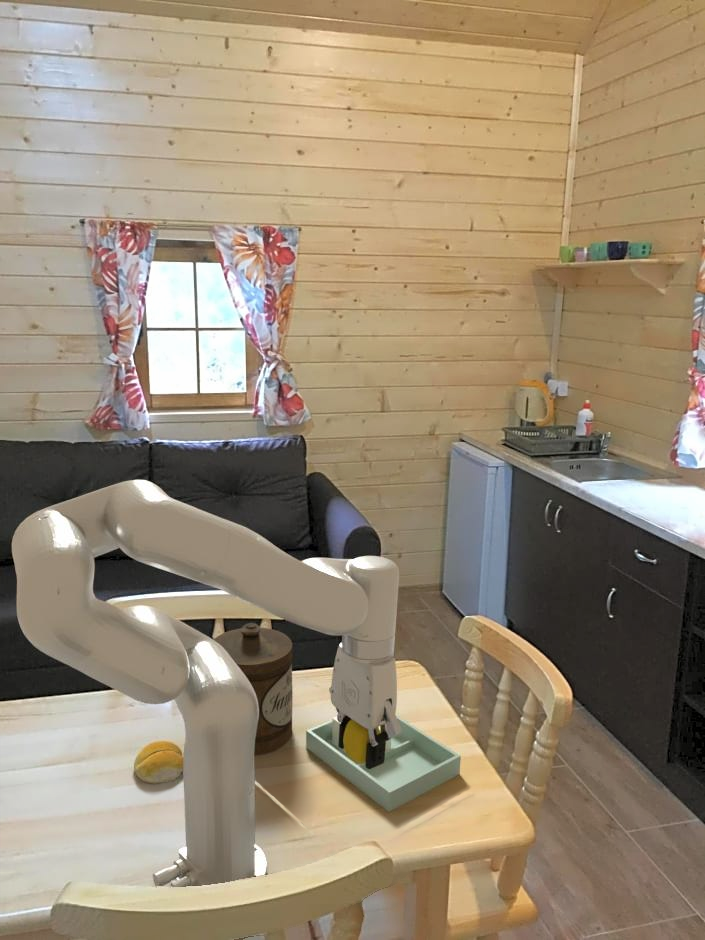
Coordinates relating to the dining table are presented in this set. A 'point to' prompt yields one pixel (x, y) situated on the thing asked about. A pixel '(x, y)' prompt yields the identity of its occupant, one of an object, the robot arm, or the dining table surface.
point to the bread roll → (159, 762)
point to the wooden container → (265, 679)
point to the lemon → (356, 741)
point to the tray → (391, 764)
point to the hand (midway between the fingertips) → (361, 754)
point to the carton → (336, 735)
